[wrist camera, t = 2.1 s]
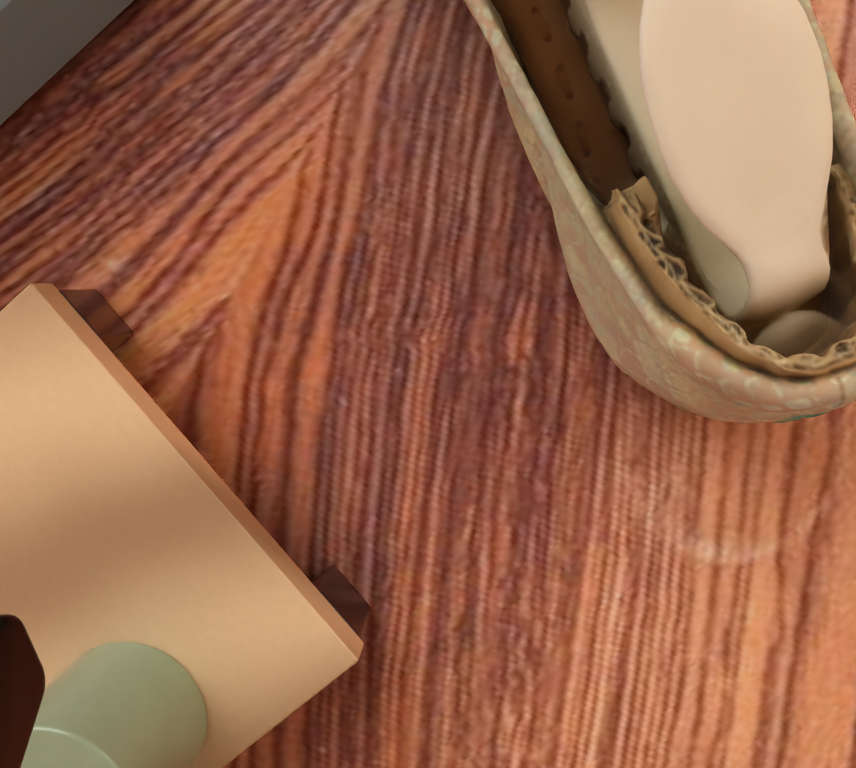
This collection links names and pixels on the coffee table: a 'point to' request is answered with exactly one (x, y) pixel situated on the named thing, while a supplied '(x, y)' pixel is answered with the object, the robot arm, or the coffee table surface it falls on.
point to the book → (44, 41)
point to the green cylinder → (119, 712)
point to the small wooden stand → (146, 533)
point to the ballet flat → (695, 191)
